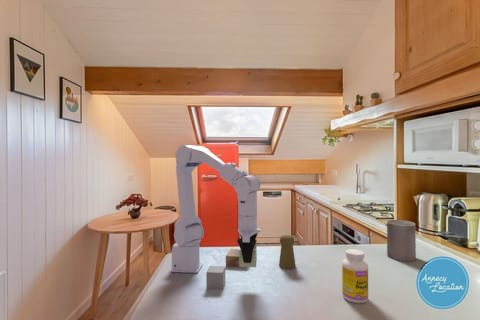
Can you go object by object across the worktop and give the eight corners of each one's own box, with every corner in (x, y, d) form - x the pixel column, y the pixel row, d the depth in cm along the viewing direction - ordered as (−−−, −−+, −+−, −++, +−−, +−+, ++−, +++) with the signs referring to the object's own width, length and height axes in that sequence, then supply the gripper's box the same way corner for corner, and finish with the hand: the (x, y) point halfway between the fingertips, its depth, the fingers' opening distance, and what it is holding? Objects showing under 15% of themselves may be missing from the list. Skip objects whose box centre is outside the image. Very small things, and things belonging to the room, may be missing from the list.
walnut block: (225, 266, 99) (225, 255, 99) (230, 259, 107) (230, 248, 107) (247, 268, 98) (247, 257, 98) (250, 260, 106) (250, 249, 106)
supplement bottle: (355, 306, 71) (355, 257, 71) (337, 295, 77) (336, 249, 77) (374, 301, 73) (373, 253, 74) (354, 290, 80) (354, 246, 80)
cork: (295, 269, 95) (295, 238, 95) (278, 268, 96) (278, 237, 96) (295, 263, 101) (295, 233, 101) (279, 262, 102) (279, 233, 102)
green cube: (239, 266, 81) (239, 249, 81) (240, 260, 86) (240, 244, 86) (255, 267, 80) (255, 250, 80) (256, 261, 85) (256, 245, 85)
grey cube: (206, 288, 82) (206, 272, 82) (209, 281, 87) (209, 265, 87) (222, 289, 81) (222, 272, 81) (225, 281, 86) (225, 266, 86)
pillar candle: (384, 252, 112) (384, 216, 112) (411, 254, 110) (410, 216, 110) (390, 260, 103) (390, 221, 103) (420, 263, 100) (419, 222, 100)
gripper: (260, 220, 76) (260, 268, 76) (261, 210, 90) (261, 251, 90) (235, 219, 76) (235, 268, 76) (240, 210, 91) (240, 251, 91)
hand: (248, 259), depth 83 cm, fingers closed on green cube, 5 cm apart
